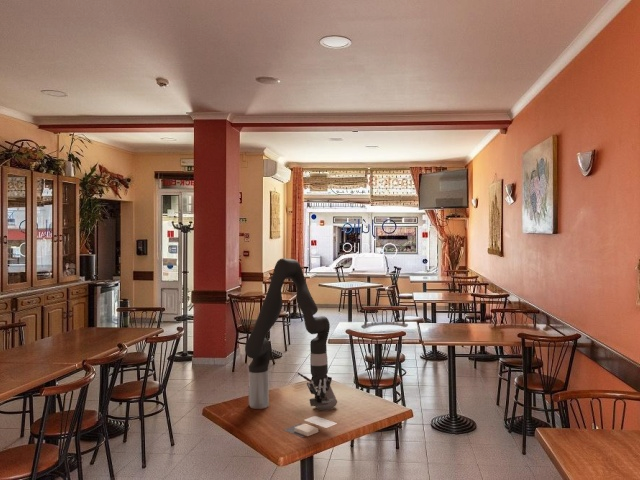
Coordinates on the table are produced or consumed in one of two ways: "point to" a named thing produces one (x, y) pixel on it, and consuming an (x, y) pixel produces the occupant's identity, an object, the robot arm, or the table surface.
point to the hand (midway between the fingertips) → (320, 402)
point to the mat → (292, 430)
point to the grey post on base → (321, 401)
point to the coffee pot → (328, 394)
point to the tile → (306, 429)
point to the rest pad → (320, 421)
